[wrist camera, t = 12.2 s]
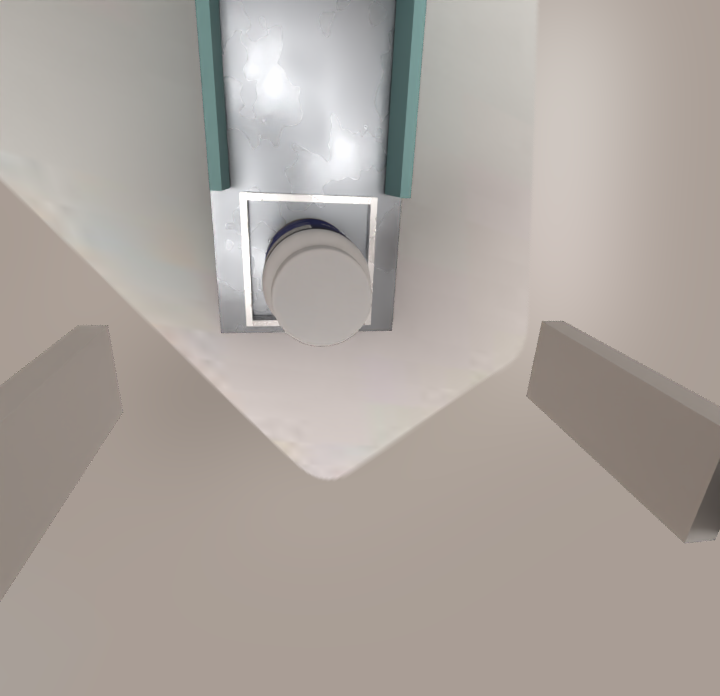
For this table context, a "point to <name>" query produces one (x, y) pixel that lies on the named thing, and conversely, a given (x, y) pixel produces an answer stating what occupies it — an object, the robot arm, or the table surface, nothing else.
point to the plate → (304, 143)
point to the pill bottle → (316, 283)
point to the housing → (401, 103)
